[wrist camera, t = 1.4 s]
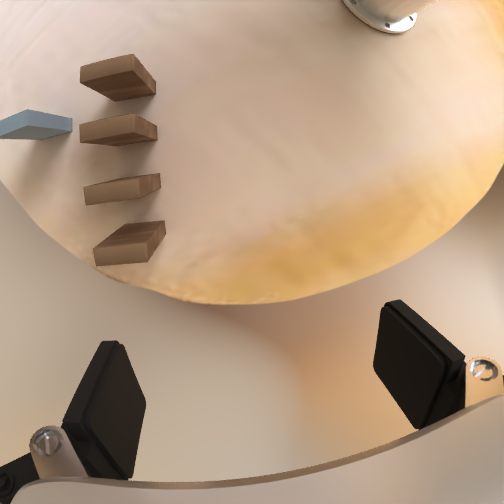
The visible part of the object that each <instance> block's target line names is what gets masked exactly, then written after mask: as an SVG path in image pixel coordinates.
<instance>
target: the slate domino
mask: <svg viewBox="0 0 504 504" xmlns="http://www.w3.org/2000/svg"><path fill="white" fill-rule="evenodd" d="M71 131H72V119H70V118H66V117H62V116H57V115H52V114H48V113H43V112H38V111H33V110H28V109H27V110H25V111H22V112H20V113H17V114H15V115H12V116H10V117H8V118H6V119H3V120H1V121H0V139H31V140H43V139H46V138H49V137H53V136H56V135H60V134H63V133H67V132H71Z"/></svg>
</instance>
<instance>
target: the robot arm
mask: <svg viewBox="0 0 504 504" xmlns="http://www.w3.org/2000/svg"><path fill="white" fill-rule="evenodd" d="M343 1H344V3H345V5H346V6H347V7H348V8H349V9H350V10H351V11H352V12H353V13H354V14H355V15H356V16H357V17H358V18H359V19H361V20H362V21H363V22H365V23H366V24H368V25H370V26H371V27H373V28H375V29H378V30H380V31H383V32H387V33H393V34H395V33H402V32H405V31H407V30H409V29H410V28H411V27H412V26H413V25H414V24H415V21H416V13H417V12H418V11H420V10H422V9H424V8H426V7H428V6H429V5H431V4H433V3H435V2H437V1H439V0H343ZM464 359H465V355H464V354H463V353H462V352H461V351H459V350H458V349H457V348H456V347H455V346H454V345H453V344H452V343H451V342H449V341H448V340H447V339H446V338H445V337H444V336H443V335H441V334H440V333H439V332H438V331H437V330H436V329H435V328H433V327H432V326H431V325H430V324H429V323H428V322H427V321H425V320H424V319H423V318H422V317H421V316H420V315H418V314H417V313H416V312H415V311H414V310H412V309H411V308H410V307H409V306H407V305H406V304H405V303H404V302H403V301H402V300H395V301H391V302H387V303H385V305H384V307H382V309H381V313H380V320H379V329H378V335H377V342H376V349H375V355H374V361H373V367H374V371H375V372H376V374H377V375H378V377H379V378H380V380H381V381H382V382H383V384H384V385H385V387H386V388H387V389H388V391H389V392H390V394H391V395H392V396H393V398H394V400H395V401H396V402H397V404H398V405H399V407H400V408H401V410H402V411H403V412H404V414H405V415H406V417H407V418H408V420H409V421H410V423H411V424H412V425H413V427H414V428H415V429H419V430H418V431H416V432H414V433H412V434H409V435H407V436H405V437H402V438H400V439H397V440H395V441H392V442H389V443H387V444H385V445H382V446H379V447H376V448H374V449H370V450H367V451H364V452H361V453H358V454H355V455H352V456H348V457H345V458H342V459H338V460H335V461H331V462H327V463H324V464H319V465H315V466H311V467H307V468H302V469H298V470H293V471H288V472H282V473H277V474H271V475H264V476H258V477H250V478H242V479H232V480H221V481H205V482H143V481H128V478H132V476H133V473H134V467H135V460H136V455H137V449H138V444H139V439H140V433H141V428H142V423H143V418H144V413H145V409H146V401H145V397H144V395H143V393H142V390H141V388H140V385H139V383H138V381H137V378H136V376H135V373H134V371H133V368H132V366H131V363H130V360H129V358H128V355H127V352H126V350H125V347H124V345H123V344H119V342H118V341H102V342H101V343H100V345H99V347H98V349H97V351H96V353H95V355H94V356H93V359H92V360H91V362H90V364H89V366H88V368H87V370H86V372H85V374H84V376H83V378H82V380H81V382H80V384H79V386H78V388H77V390H76V393H75V394H74V397H73V399H72V401H71V403H70V405H69V407H68V410H67V412H66V414H65V416H64V418H63V423H62V425H61V428H60V427H57V426H46V427H42V428H41V429H39V430H37V431H36V432H35V433H34V434H33V436H32V438H31V439H30V444H29V447H30V451H31V452H30V453H28V454H26V455H24V456H22V457H20V458H18V459H16V460H14V461H12V462H10V463H8V464H6V465H3V466H1V467H0V504H504V375H502V370H501V367H500V366H499V365H498V363H497V362H495V361H494V360H492V359H490V358H486V357H475V358H472V359H471V360H469V362H468V363H467V364H466V363H465V362H464Z"/></svg>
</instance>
